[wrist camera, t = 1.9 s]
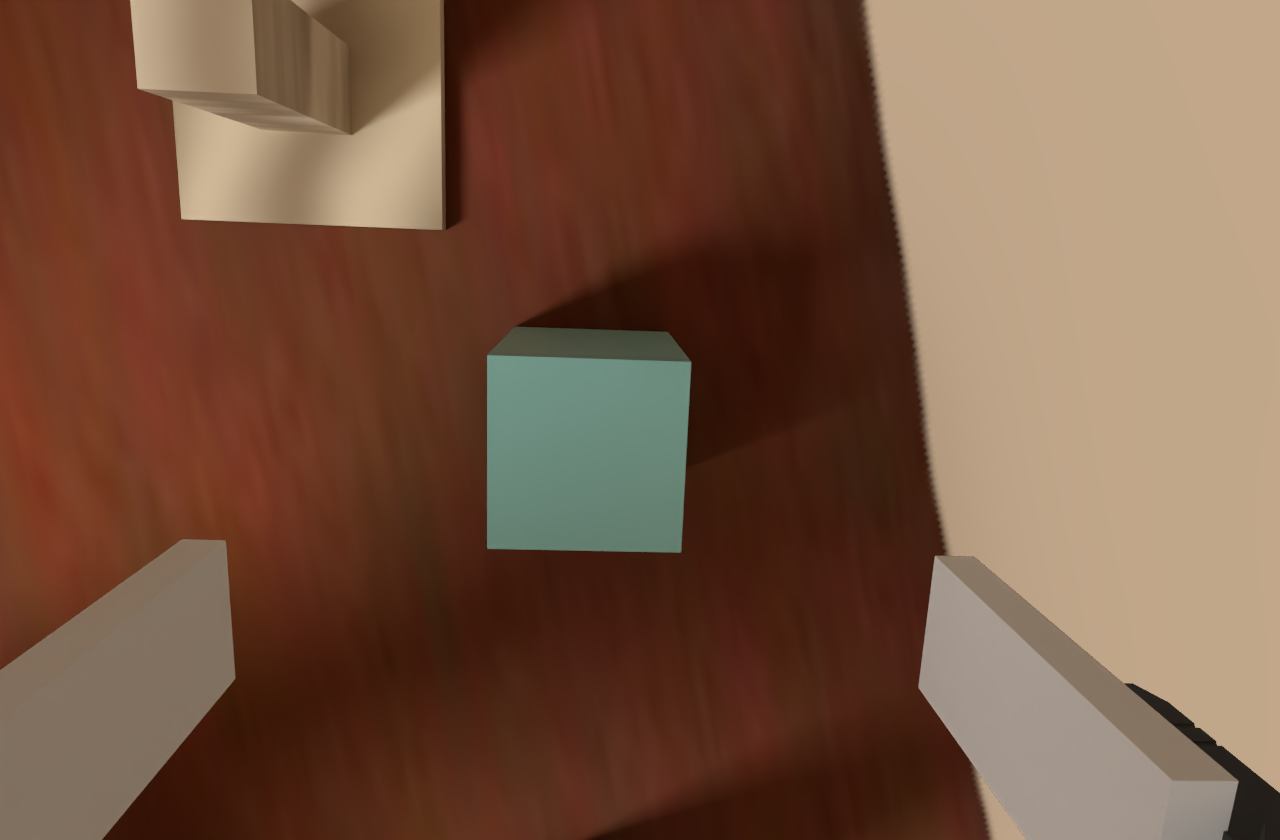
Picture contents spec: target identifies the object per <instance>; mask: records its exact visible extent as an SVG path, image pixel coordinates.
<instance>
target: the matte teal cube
mask: <svg viewBox="0 0 1280 840" xmlns="http://www.w3.org/2000/svg"><path fill="white" fill-rule="evenodd" d="M690 378H691V361H690V360H689V358H688V357H687V356H686V354H685V353H684V352H683V351H682V349H681V348H680V347H679V345H678V344H677V343H676V342H675V340H674V339H673V338H672V336H671V335H670V334H669V333H668V332H657V331H629V330H600V329H571V328H543V327H514V328H513V329H512V330H511V331H510V332H509V333H508V334H507V335H506V336H505V337H504V338H503V339H502V340H501V342H500V343H499V344H498V345H497V346H496V347H495V348H494V349H493V350H492V351H491V352H490V353H489V354H488V355H487V549H520V550H572V551H624V552H676V553H681V545H682V526H683V508H684V489H685V471H686V452H687V433H688V415H689V396H690Z"/></svg>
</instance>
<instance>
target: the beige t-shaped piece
mask: <svg viewBox="0 0 1280 840" xmlns="http://www.w3.org/2000/svg"><path fill="white" fill-rule="evenodd" d="M130 3H131V15H132V26H133V38H134V50H135V62H136V74H137V86H138V89H140V90H143V91H146V92H149V93H152V94H155V95H159V96H162V97H165V98H168V99H171V100H173V112H174V125H175V138H176V152H177V165H178V178H179V192H180V205H181V218H182V219H190V220H213V221H237V222H262V223H286V224H310V225H334V226H358V227H382V228H406V229H431V230H446V179H445V73H444V0H130Z"/></svg>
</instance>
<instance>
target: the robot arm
mask: <svg viewBox="0 0 1280 840" xmlns="http://www.w3.org/2000/svg"><path fill="white" fill-rule="evenodd" d="M234 680H235V666H234V652H233V637H232V623H231V608H230V594H229V580H228V565H227V551H226V540H189V539H182V540H181V541H179V542H178V543H176V544H175V545H174V546H172V547H171V548H170V549H168V550H167V551H165V552H164V553H163V554H161V555H160V556H158V557H157V558H156V559H154V560H153V561H151V562H150V563H149V564H147V565H146V566H144V567H143V568H142V569H140V570H139V571H138V572H136V573H135V574H133V575H132V576H131V577H129V578H128V579H126V580H125V581H124V582H122V583H121V584H119V585H118V586H117V587H115V588H114V589H112V590H111V591H110V592H108V593H107V594H106V595H104V596H103V597H101V598H100V599H99V600H97V601H96V602H94V603H93V604H92V605H90V606H89V607H87V608H86V609H85V610H83V611H82V612H80V613H79V614H78V615H76V616H75V617H74V618H72V619H71V620H69V621H68V622H67V623H65V624H64V625H62V626H61V627H60V628H58V629H57V630H55V631H54V632H53V633H51V634H50V635H48V636H47V637H46V638H44V639H43V640H42V641H40V642H39V643H37V644H36V645H35V646H33V647H32V648H30V649H29V650H28V651H26V652H25V653H23V654H22V655H21V656H19V657H18V658H16V659H15V660H14V661H12V662H11V663H10V664H8V665H7V666H5V667H4V668H3V669H1V670H0V840H102V839H103V838H104V837H105V835H106V834H107V833H108V832H109V831H110V829H111V828H112V827H113V826H114V825H115V823H116V822H117V821H118V820H119V819H120V817H121V816H122V815H123V814H124V812H125V811H126V810H127V809H128V808H129V806H130V805H131V804H132V803H133V802H134V800H135V799H136V798H137V797H138V796H139V794H140V793H141V792H142V791H143V790H144V788H145V787H146V786H147V785H148V784H149V782H150V781H151V780H152V779H153V778H154V776H155V775H156V774H157V773H158V771H159V770H160V769H161V768H162V767H163V765H164V764H165V763H166V762H167V761H168V759H169V758H170V757H171V756H172V755H173V753H174V752H175V751H176V750H177V749H178V747H179V746H180V745H181V744H182V743H183V741H184V740H185V739H186V738H187V736H188V735H189V734H190V733H191V732H192V730H193V729H194V728H195V727H196V726H197V724H198V723H199V722H200V721H201V720H202V718H203V717H204V716H205V715H206V714H207V712H208V711H209V710H210V709H211V708H212V706H213V705H214V704H215V703H216V702H217V700H218V699H219V698H220V697H221V695H222V694H223V693H224V692H225V691H226V689H227V688H228V687H229V686H230V685H231V683H232V682H233V681H234ZM918 688H919V689H920V691H921V692H922V693H923V695H924V696H925V698H926V699H927V700H928V702H929V703H930V705H931V706H932V707H933V709H934V710H935V712H936V713H937V714H938V716H939V717H940V719H941V720H942V722H943V723H944V724H945V726H946V727H947V729H948V730H949V731H950V733H951V734H952V736H953V737H954V738H955V740H956V741H957V743H958V744H959V745H960V747H961V748H962V750H963V751H964V752H965V754H966V755H967V757H968V758H969V760H970V761H971V762H972V764H973V765H974V767H975V768H976V769H977V771H978V772H979V774H980V775H981V776H982V778H983V779H984V781H985V782H986V783H987V785H988V786H989V788H990V789H991V790H992V792H993V793H994V795H995V796H996V798H997V799H998V800H999V802H1000V803H1001V805H1002V806H1003V807H1004V809H1005V810H1006V812H1007V813H1008V814H1009V816H1010V817H1011V819H1012V820H1013V822H1014V823H1015V824H1016V826H1017V827H1018V828H1019V830H1020V831H1021V833H1022V834H1023V836H1024V837H1025V838H1026V840H1280V793H1279V792H1278V791H1276V790H1275V789H1274V788H1273V787H1272V786H1270V785H1269V784H1268V783H1267V782H1265V781H1264V780H1263V779H1262V778H1260V777H1259V776H1258V775H1257V774H1256V773H1254V772H1253V771H1252V770H1251V769H1249V768H1248V767H1247V766H1246V765H1244V764H1243V763H1242V762H1241V761H1240V760H1238V759H1237V758H1236V757H1235V756H1233V755H1232V754H1231V753H1230V752H1229V751H1227V750H1226V749H1225V748H1224V747H1222V746H1217V744H1216V741H1215V740H1214V739H1213V738H1211V737H1210V736H1209V735H1208V734H1206V733H1205V732H1204V731H1203V730H1202V729H1200V728H1195V726H1194V723H1193V722H1192V721H1191V720H1189V719H1188V718H1187V717H1186V716H1184V715H1183V714H1182V713H1181V712H1179V711H1178V710H1177V709H1176V708H1175V707H1173V706H1172V705H1171V704H1170V703H1168V702H1167V701H1165V700H1163V699H1160V698H1159V697H1157V696H1155V695H1153V694H1151V693H1149V692H1148V691H1146V690H1144V689H1142V688H1140V687H1138V686H1136V685H1134V684H1124V683H1122V682H1121V681H1120V680H1119V679H1118V678H1117V677H1115V676H1114V675H1113V674H1112V673H1111V672H1110V671H1108V670H1107V669H1106V668H1105V667H1104V666H1102V665H1101V664H1100V663H1099V662H1098V661H1096V660H1095V659H1094V658H1093V657H1092V656H1091V655H1089V654H1088V653H1087V652H1086V651H1085V650H1084V649H1082V648H1081V647H1080V646H1079V645H1078V644H1077V643H1075V642H1074V641H1073V640H1072V639H1071V638H1069V637H1068V636H1067V635H1066V634H1065V633H1063V632H1062V631H1061V630H1060V629H1059V628H1057V627H1056V626H1055V625H1054V624H1053V623H1052V622H1051V621H1049V620H1048V619H1047V618H1046V617H1045V616H1044V615H1042V614H1041V613H1040V612H1039V611H1037V610H1036V609H1035V608H1034V607H1033V606H1032V605H1031V604H1029V603H1028V602H1027V601H1026V600H1025V599H1023V598H1022V597H1021V596H1020V595H1018V593H1016V592H1015V591H1014V590H1013V589H1012V588H1010V587H1009V586H1008V585H1007V584H1006V583H1004V582H1003V581H1002V580H1001V579H1000V578H999V577H998V576H996V575H995V574H994V573H993V572H992V571H990V570H989V569H988V568H987V567H986V566H985V565H983V564H982V563H981V562H980V561H979V560H978V559H976V558H975V557H964V556H963V557H961V556H935V559H934V567H933V575H932V583H931V591H930V599H929V607H928V615H927V623H926V631H925V639H924V647H923V655H922V662H921V670H920V678H919V686H918Z"/></svg>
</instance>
